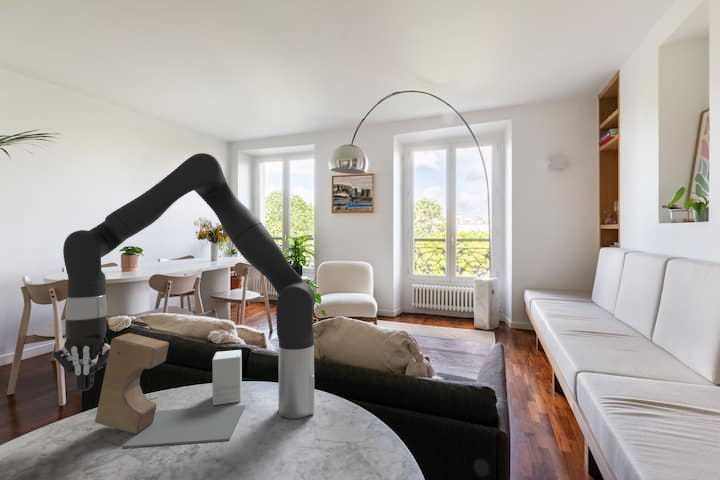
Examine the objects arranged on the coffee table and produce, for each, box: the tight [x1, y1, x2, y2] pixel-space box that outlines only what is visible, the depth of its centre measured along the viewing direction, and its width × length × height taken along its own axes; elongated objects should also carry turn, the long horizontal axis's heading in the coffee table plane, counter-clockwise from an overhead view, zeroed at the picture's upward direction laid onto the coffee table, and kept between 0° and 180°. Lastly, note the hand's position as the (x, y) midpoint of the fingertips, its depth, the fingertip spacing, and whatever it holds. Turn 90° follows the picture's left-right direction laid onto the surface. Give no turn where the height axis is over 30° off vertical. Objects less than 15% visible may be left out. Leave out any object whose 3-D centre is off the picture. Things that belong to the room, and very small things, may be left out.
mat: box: [122, 404, 246, 449], centre depth 81 cm, size 22×16×1 cm
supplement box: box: [211, 349, 243, 406], centre depth 96 cm, size 7×7×13 cm
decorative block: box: [94, 332, 170, 434], centre depth 79 cm, size 11×6×20 cm, turn 83°
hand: (85, 389), depth 78 cm, fingers closed
